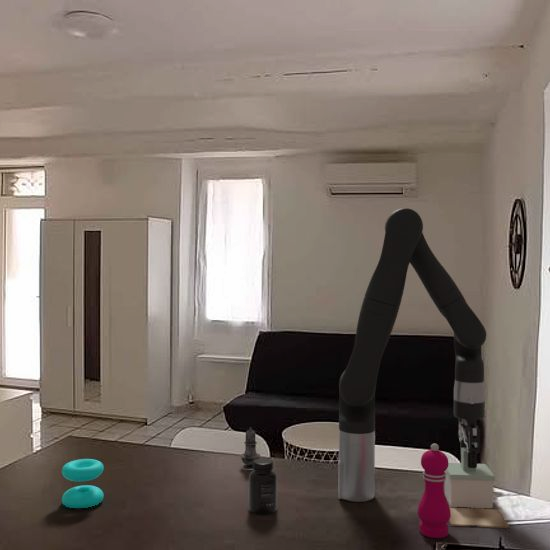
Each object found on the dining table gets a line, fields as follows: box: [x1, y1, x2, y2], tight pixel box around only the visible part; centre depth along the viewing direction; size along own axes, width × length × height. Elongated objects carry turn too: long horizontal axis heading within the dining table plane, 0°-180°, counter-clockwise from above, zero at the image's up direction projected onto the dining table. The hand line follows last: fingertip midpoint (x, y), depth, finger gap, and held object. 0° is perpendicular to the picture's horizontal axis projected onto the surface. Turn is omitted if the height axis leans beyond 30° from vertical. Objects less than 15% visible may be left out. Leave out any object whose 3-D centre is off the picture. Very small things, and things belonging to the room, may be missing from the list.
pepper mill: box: [417, 443, 451, 539], centre depth 146 cm, size 7×7×20 cm
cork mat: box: [448, 507, 511, 529], centre depth 154 cm, size 13×10×1 cm
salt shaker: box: [240, 426, 261, 469], centre depth 191 cm, size 6×6×12 cm
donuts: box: [61, 458, 105, 509], centre depth 162 cm, size 10×10×10 cm
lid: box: [445, 448, 496, 482], centre depth 165 cm, size 11×10×7 cm
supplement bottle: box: [248, 457, 278, 516], centre depth 158 cm, size 7×7×12 cm
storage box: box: [444, 471, 494, 509], centre depth 165 cm, size 10×9×7 cm
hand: (468, 462), depth 165 cm, fingers open, 8 cm apart
